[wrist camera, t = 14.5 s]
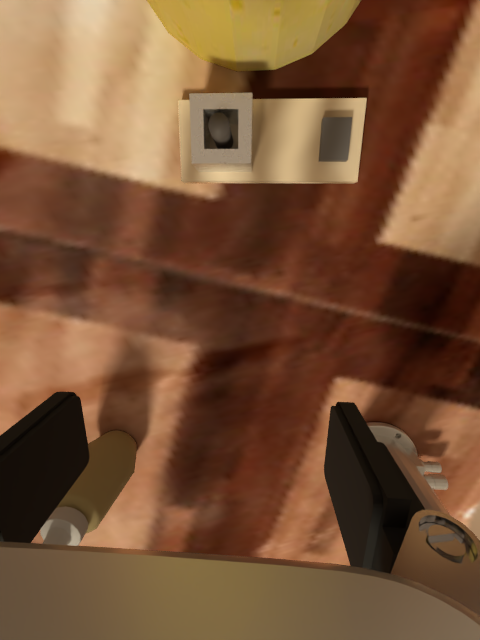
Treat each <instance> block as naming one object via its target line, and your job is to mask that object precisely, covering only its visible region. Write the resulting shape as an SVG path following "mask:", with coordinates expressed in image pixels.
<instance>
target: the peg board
mask: <svg viewBox="0 0 480 640" xmlns="http://www.w3.org/2000/svg"><path fill="white" fill-rule="evenodd" d="M366 101H367V98H313V99H253V124H252V172H199V171H198V170H197V169H196V168H195V167H194V166H193V164H192V158H191V128H190V100H178V112H179V136H180V160H181V181H182V182H183V183H356V182H357V180H358V172H359V163H360V154H361V145H362V136H363V127H364V119H365V110H366ZM208 127H209V130H210V149H238V125H230V124H229V120H228V118H227V117H226V115H224V114H223V113H215V114H213V115H212V116H211V117H210V119H209V123H208Z"/></svg>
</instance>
